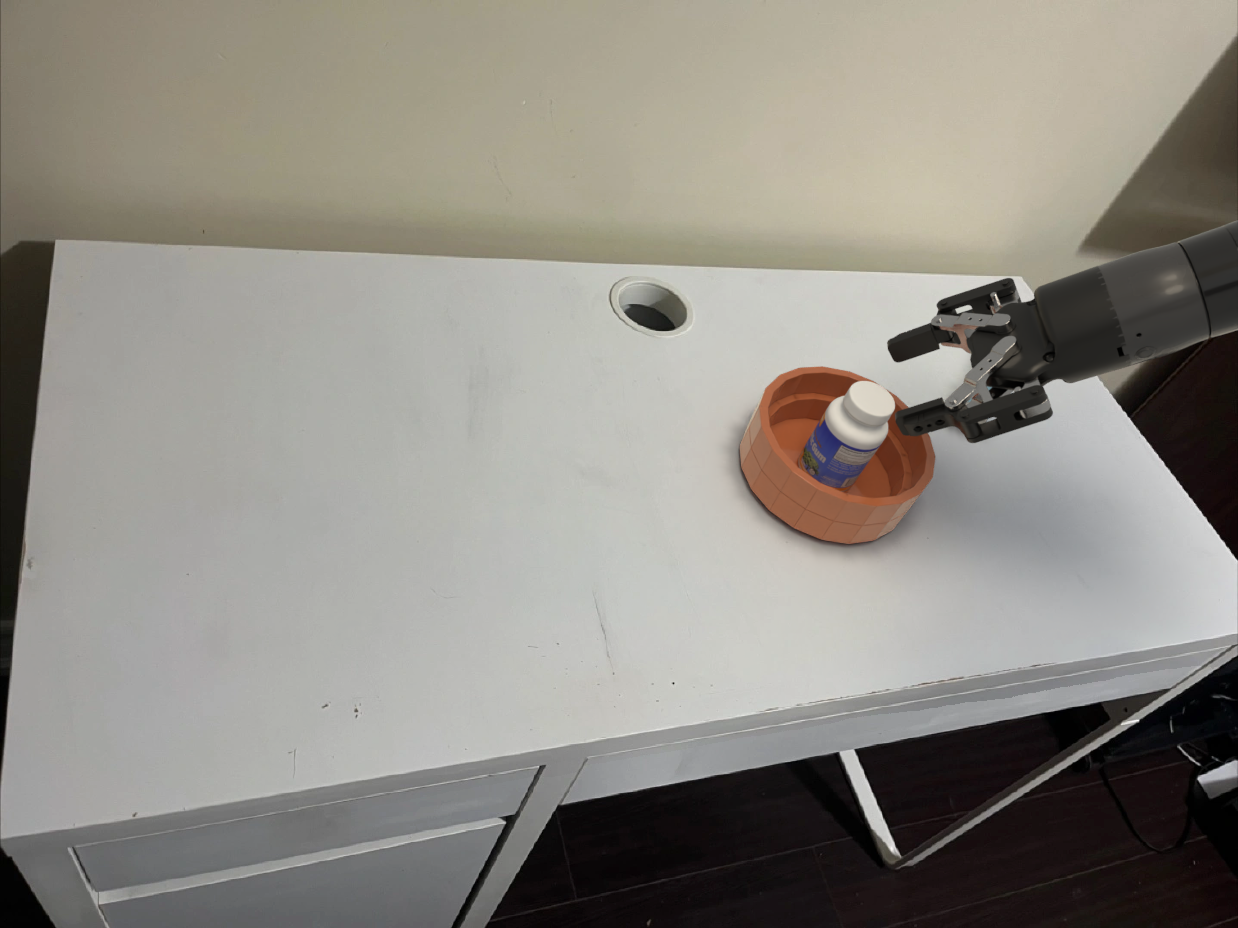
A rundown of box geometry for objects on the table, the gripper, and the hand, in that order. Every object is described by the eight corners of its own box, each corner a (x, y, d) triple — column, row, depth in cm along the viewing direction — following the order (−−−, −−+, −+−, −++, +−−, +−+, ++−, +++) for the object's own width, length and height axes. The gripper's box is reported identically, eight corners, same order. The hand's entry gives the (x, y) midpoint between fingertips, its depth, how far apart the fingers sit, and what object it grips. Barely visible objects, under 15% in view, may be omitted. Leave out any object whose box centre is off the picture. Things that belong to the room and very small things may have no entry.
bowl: (929, 479, 80) (961, 437, 76) (856, 580, 71) (888, 538, 66) (791, 387, 84) (814, 342, 80) (705, 470, 75) (725, 424, 71)
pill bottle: (793, 444, 79) (835, 368, 71) (848, 453, 79) (896, 378, 72) (800, 491, 75) (846, 416, 68) (858, 499, 76) (909, 426, 69)
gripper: (1084, 217, 64) (871, 299, 71) (1135, 341, 54) (883, 419, 62) (1105, 291, 68) (902, 360, 76) (1156, 418, 59) (918, 482, 66)
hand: (894, 387), depth 69 cm, fingers open, 8 cm apart
